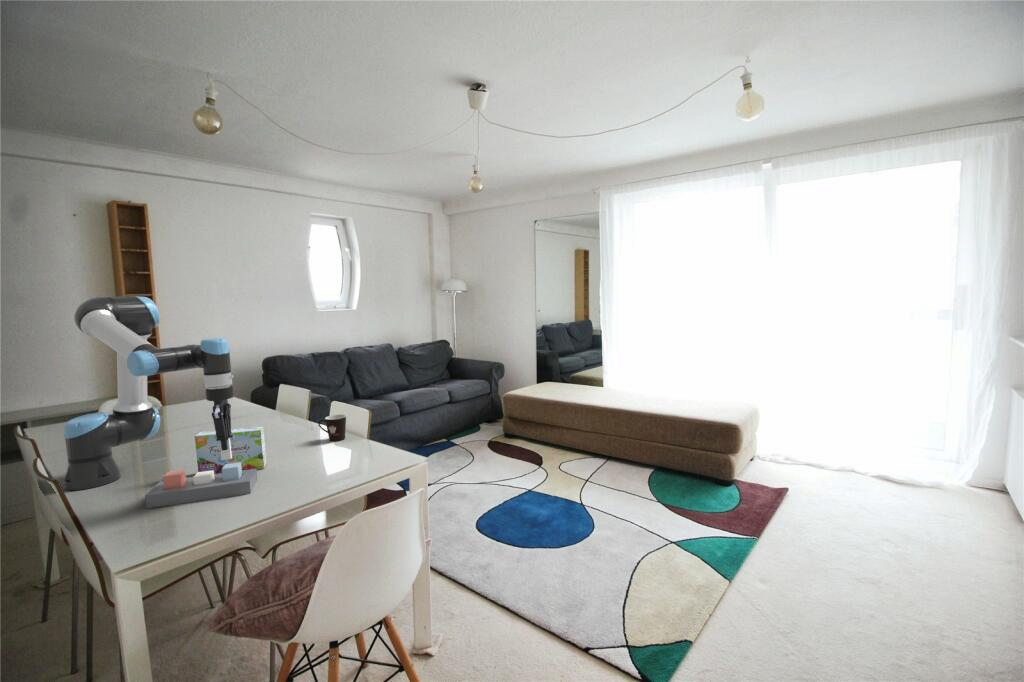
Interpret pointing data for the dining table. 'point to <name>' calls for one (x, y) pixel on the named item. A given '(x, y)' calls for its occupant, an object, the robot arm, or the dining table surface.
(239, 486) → the console
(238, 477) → the slate key
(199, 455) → the snack box
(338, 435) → the coffee mug
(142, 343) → the robot arm
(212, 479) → the ivory key
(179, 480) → the brick key
